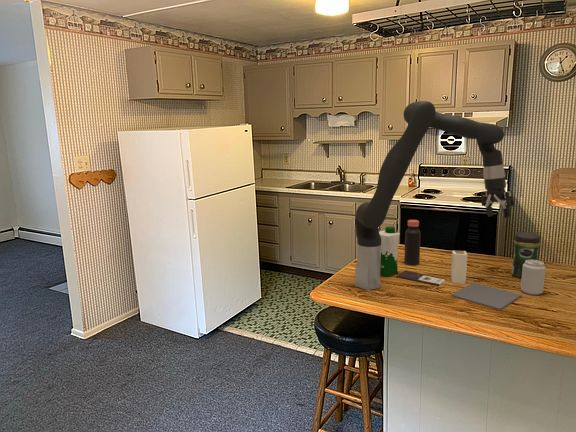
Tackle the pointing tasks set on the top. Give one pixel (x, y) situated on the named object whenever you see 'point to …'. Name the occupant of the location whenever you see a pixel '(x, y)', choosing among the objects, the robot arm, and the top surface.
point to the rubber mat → (486, 296)
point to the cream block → (458, 266)
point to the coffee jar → (524, 250)
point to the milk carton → (389, 251)
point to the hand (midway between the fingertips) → (498, 217)
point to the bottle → (412, 243)
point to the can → (533, 277)
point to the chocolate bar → (421, 278)
